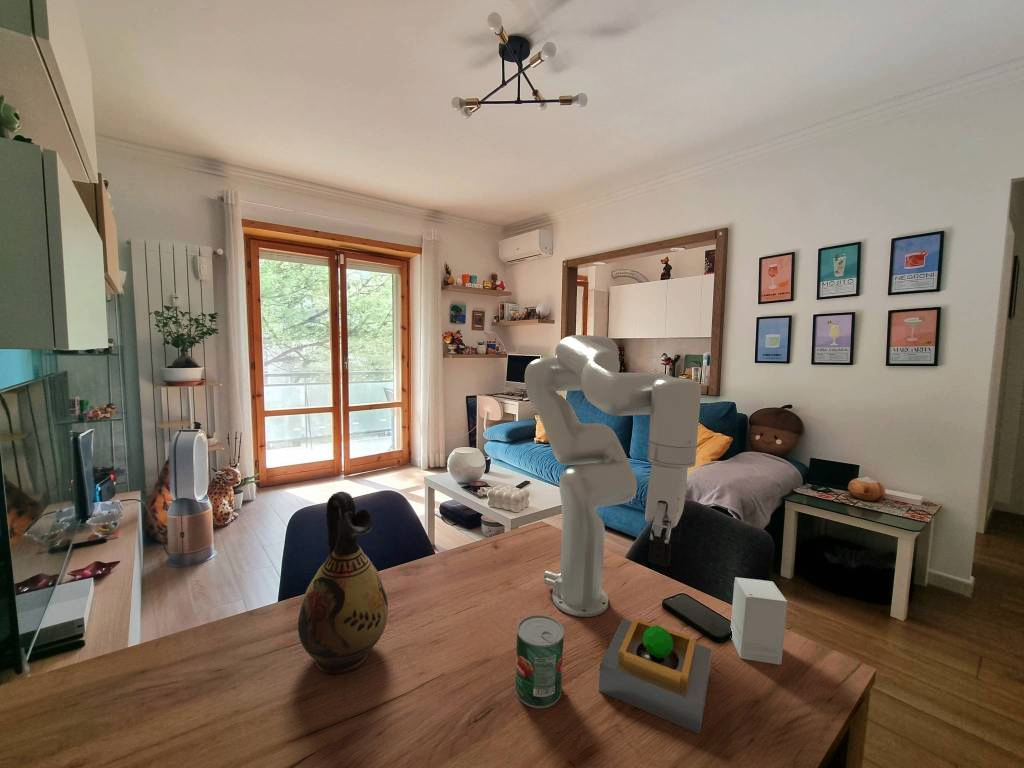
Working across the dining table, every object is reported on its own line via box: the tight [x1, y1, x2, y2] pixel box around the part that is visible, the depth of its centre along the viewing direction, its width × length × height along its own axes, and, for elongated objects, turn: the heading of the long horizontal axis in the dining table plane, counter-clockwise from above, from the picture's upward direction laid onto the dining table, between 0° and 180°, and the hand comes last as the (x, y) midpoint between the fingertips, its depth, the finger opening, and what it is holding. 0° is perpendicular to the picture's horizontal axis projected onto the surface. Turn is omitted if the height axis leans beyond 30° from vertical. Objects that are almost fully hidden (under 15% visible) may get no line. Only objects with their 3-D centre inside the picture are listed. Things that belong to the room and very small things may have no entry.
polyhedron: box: [643, 624, 673, 659], centre depth 77 cm, size 5×5×5 cm
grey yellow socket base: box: [598, 618, 712, 735], centre depth 78 cm, size 16×17×7 cm
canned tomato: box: [514, 614, 565, 709], centre depth 75 cm, size 8×8×11 cm
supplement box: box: [730, 576, 788, 665], centre depth 86 cm, size 7×7×13 cm
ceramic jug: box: [297, 491, 389, 676], centre depth 81 cm, size 17×15×30 cm
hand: (664, 551), depth 75 cm, fingers open, 9 cm apart
